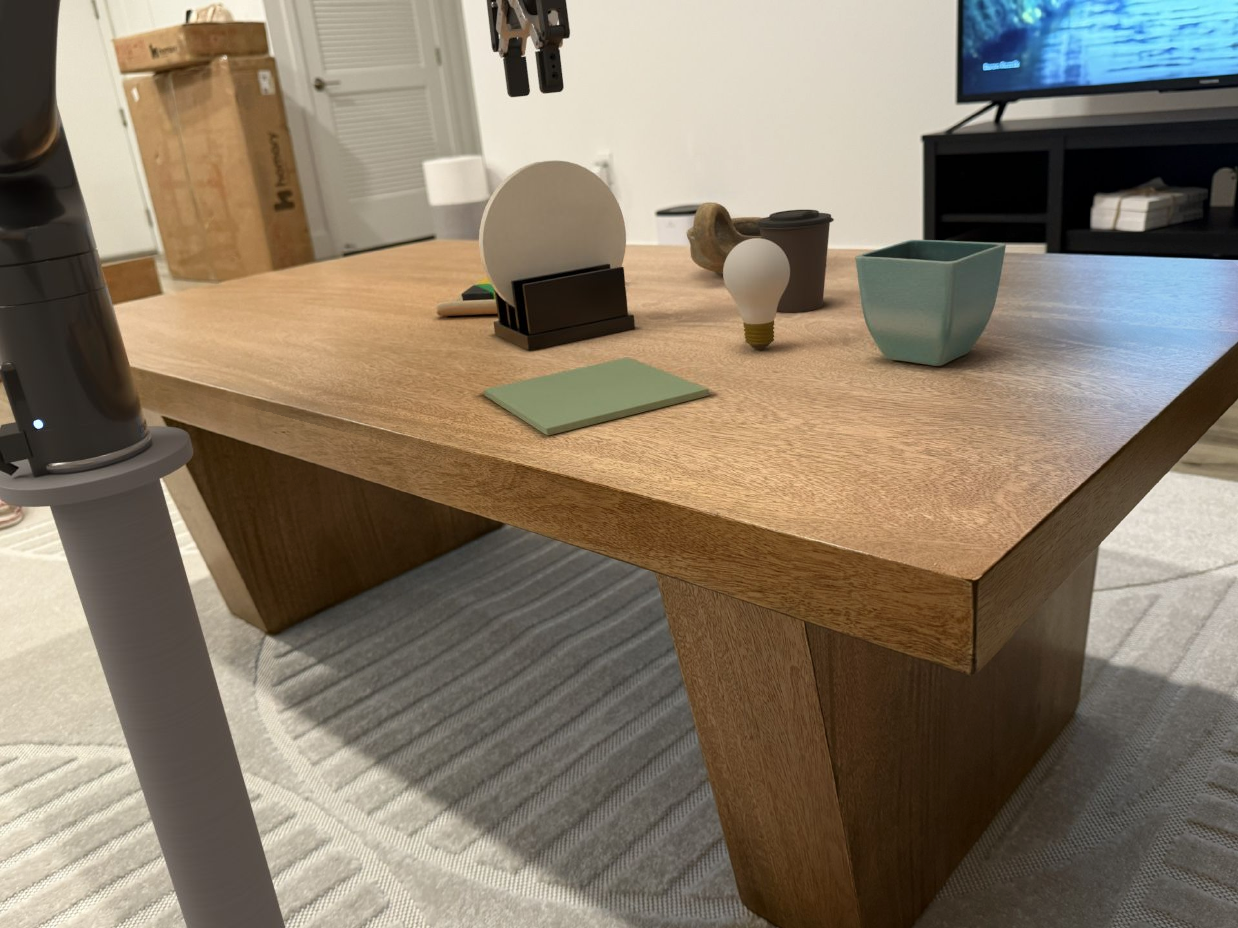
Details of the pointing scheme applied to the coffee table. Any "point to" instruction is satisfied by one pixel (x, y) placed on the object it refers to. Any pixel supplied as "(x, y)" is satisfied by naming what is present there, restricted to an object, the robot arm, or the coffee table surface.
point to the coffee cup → (800, 255)
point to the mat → (592, 394)
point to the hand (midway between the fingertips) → (535, 95)
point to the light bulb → (757, 286)
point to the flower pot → (929, 297)
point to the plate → (549, 225)
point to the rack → (564, 307)
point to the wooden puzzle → (471, 301)
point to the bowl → (718, 235)
